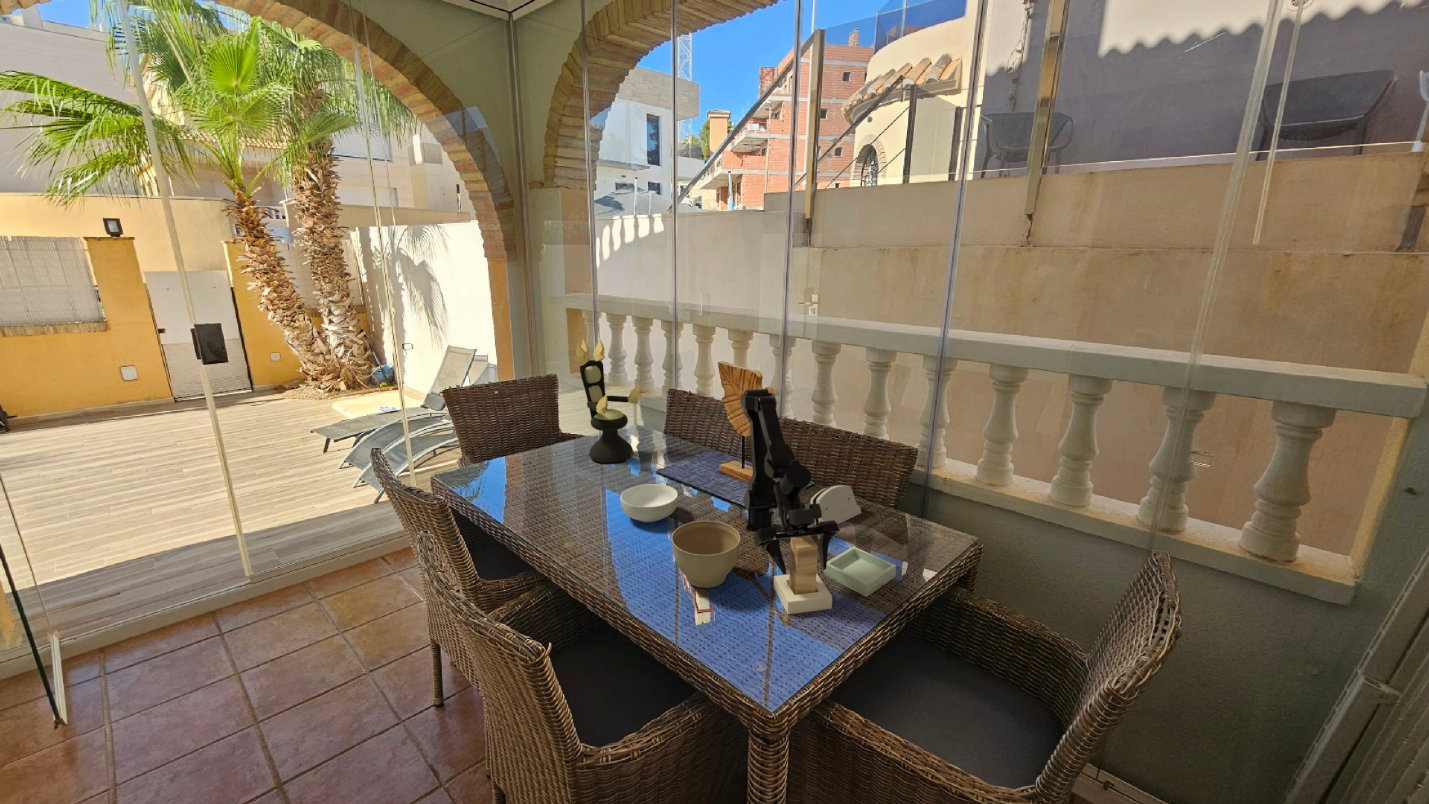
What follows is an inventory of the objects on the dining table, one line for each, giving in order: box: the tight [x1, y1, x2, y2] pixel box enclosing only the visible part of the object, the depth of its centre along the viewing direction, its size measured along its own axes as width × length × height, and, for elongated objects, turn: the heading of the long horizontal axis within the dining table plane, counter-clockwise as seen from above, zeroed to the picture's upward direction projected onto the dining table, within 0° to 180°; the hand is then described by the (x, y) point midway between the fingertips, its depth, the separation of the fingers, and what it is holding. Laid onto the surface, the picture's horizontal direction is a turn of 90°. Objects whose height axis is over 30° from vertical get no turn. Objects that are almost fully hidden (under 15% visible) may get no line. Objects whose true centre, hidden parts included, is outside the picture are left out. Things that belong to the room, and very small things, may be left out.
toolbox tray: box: [823, 546, 897, 598], centre depth 130 cm, size 12×12×3 cm
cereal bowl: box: [620, 483, 679, 523], centre depth 160 cm, size 17×17×7 cm
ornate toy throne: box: [574, 338, 642, 464], centre depth 204 cm, size 19×22×45 cm
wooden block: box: [789, 536, 818, 595], centre depth 120 cm, size 4×4×14 cm
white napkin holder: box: [809, 484, 862, 525], centre depth 159 cm, size 17×5×10 cm, turn 130°
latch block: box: [773, 572, 833, 615], centre depth 121 cm, size 10×10×3 cm
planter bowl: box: [671, 520, 741, 589], centre depth 128 cm, size 16×16×11 cm
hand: (805, 571), depth 119 cm, fingers open, 9 cm apart
